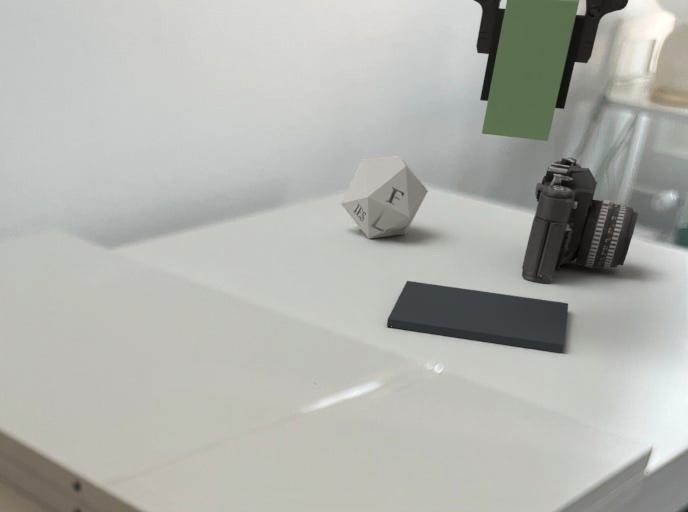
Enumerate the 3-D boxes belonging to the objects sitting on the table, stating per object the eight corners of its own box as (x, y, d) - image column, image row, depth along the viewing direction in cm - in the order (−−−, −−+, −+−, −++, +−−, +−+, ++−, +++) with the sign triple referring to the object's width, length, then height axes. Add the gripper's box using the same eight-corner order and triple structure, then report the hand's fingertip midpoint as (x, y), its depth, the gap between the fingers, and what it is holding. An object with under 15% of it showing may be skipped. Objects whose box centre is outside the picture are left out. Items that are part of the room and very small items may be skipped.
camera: (620, 294, 107) (649, 193, 101) (513, 279, 109) (536, 179, 103) (622, 257, 118) (648, 163, 112) (525, 244, 120) (546, 152, 114)
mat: (566, 311, 102) (568, 303, 101) (562, 353, 93) (564, 344, 92) (405, 288, 105) (406, 280, 105) (386, 326, 96) (387, 318, 96)
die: (325, 239, 121) (365, 178, 112) (339, 183, 124) (378, 121, 115) (389, 268, 123) (433, 211, 114) (401, 213, 126) (444, 154, 117)
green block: (550, 129, 91) (580, -5, 85) (547, 140, 86) (579, 1, 80) (487, 122, 92) (512, -10, 86) (481, 133, 88) (507, -5, 82)
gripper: (461, -268, 73) (408, 97, 87) (739, -260, 69) (636, 121, 83) (472, -256, 79) (420, 84, 93) (729, -248, 75) (634, 106, 89)
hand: (522, 101), depth 88 cm, fingers closed on green block, 5 cm apart
